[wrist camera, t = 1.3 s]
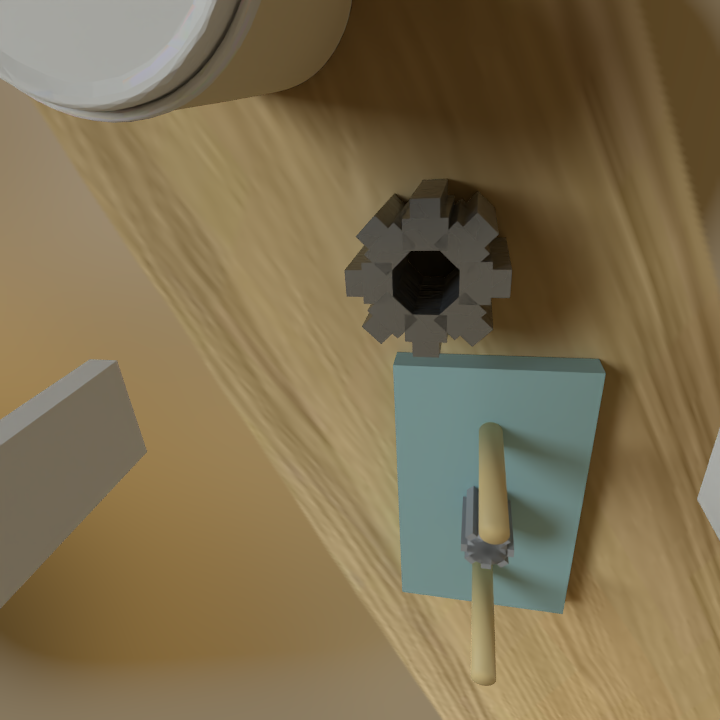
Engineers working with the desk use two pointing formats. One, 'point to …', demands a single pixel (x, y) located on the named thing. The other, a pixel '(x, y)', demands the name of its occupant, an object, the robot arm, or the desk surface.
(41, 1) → the coffee cup
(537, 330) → the desk surface
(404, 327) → the gear
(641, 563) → the desk surface
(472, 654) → the carrier
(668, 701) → the desk surface
